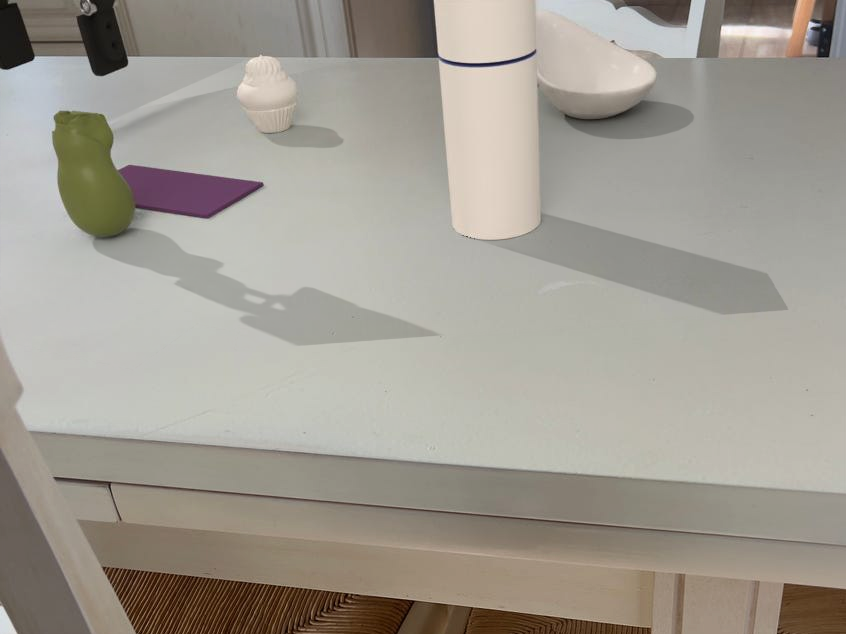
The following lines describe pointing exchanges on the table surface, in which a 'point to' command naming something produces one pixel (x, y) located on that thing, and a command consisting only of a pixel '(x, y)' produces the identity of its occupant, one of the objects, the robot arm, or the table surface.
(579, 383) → the table surface
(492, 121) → the cylindrical container
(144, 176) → the cloth
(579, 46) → the spoon rest
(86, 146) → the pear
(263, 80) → the muffin
